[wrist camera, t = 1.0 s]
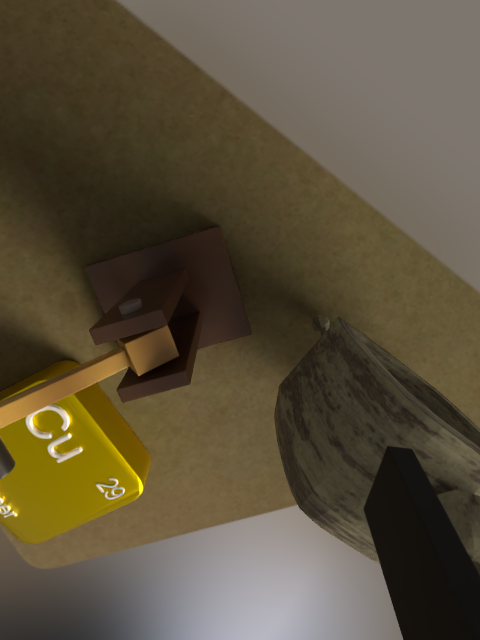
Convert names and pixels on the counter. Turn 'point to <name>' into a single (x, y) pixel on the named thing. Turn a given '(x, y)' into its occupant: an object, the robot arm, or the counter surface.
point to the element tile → (68, 462)
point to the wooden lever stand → (169, 303)
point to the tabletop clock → (370, 436)
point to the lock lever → (87, 378)
